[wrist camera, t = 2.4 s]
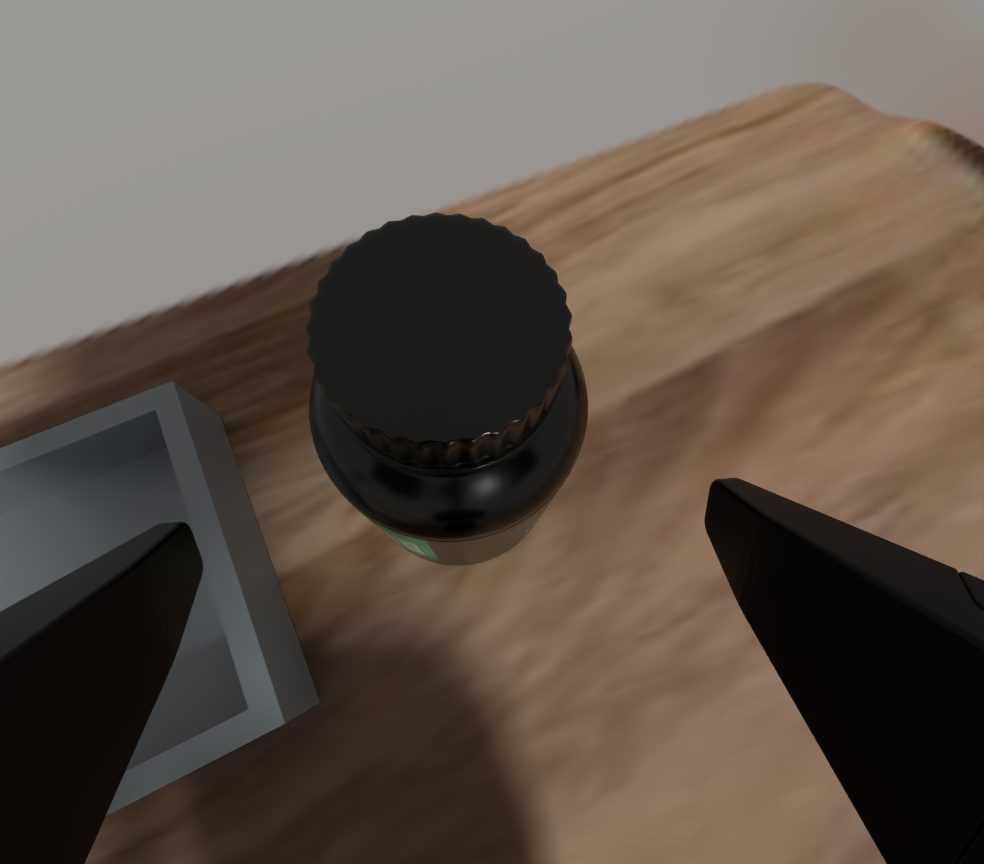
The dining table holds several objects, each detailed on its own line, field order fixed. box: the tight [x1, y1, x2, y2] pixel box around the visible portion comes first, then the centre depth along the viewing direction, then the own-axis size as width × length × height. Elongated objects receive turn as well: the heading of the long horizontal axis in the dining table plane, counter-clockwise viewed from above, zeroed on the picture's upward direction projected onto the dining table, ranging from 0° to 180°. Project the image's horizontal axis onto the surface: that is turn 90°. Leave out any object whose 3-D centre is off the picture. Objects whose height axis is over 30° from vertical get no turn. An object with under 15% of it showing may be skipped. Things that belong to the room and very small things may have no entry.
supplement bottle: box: [306, 213, 588, 565], centre depth 15 cm, size 7×7×12 cm
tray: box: [0, 381, 320, 817], centre depth 17 cm, size 12×12×4 cm
